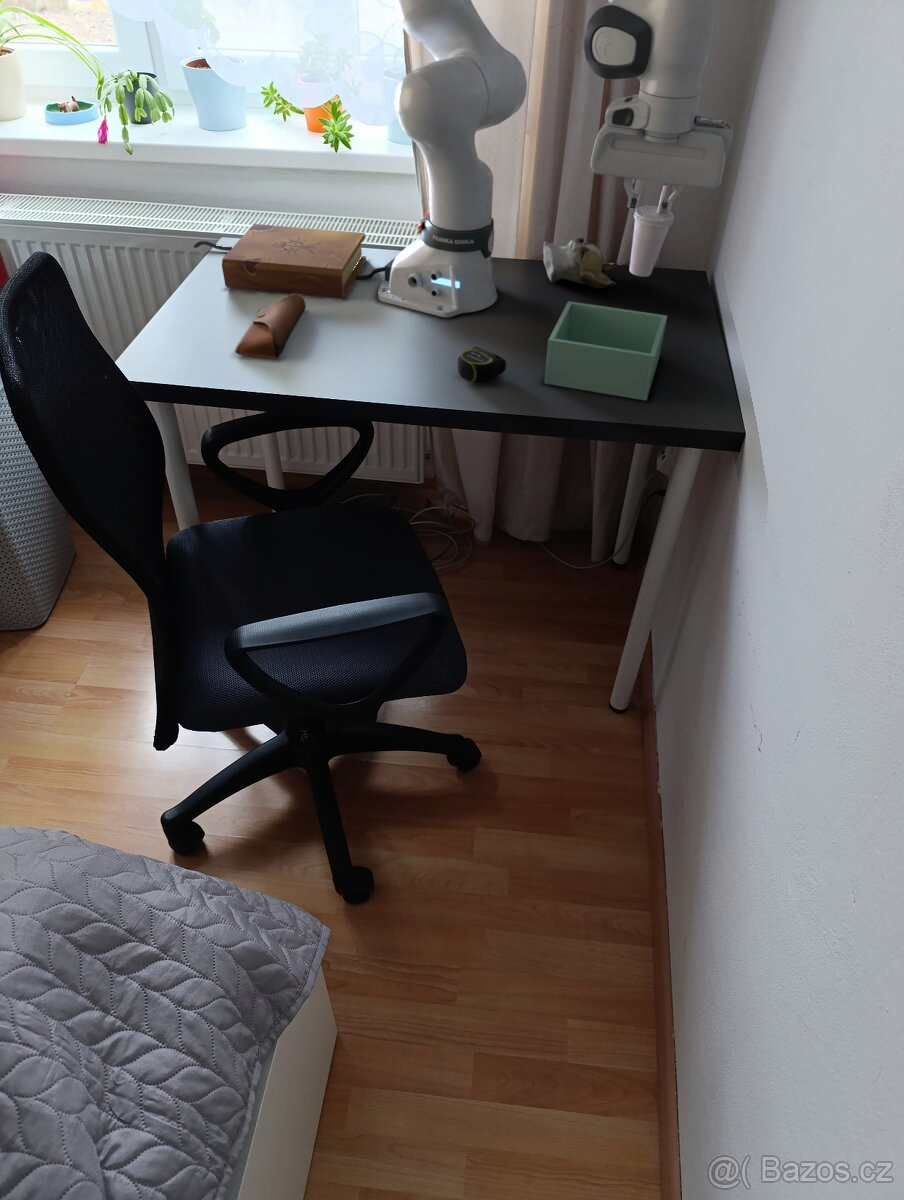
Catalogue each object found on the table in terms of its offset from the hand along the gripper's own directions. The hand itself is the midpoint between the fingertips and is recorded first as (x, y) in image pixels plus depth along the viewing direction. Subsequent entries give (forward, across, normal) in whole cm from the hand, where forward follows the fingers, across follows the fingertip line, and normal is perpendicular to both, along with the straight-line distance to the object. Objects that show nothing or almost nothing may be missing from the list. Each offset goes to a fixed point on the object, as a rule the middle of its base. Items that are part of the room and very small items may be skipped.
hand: (648, 209), depth 133 cm
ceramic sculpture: (+22, +12, -18) cm, 31 cm away
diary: (+22, +65, -3) cm, 69 cm away
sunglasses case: (+22, +59, +21) cm, 67 cm away
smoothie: (+10, 0, 0) cm, 10 cm away
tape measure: (+21, +20, +23) cm, 38 cm away
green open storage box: (+21, +1, +15) cm, 26 cm away
